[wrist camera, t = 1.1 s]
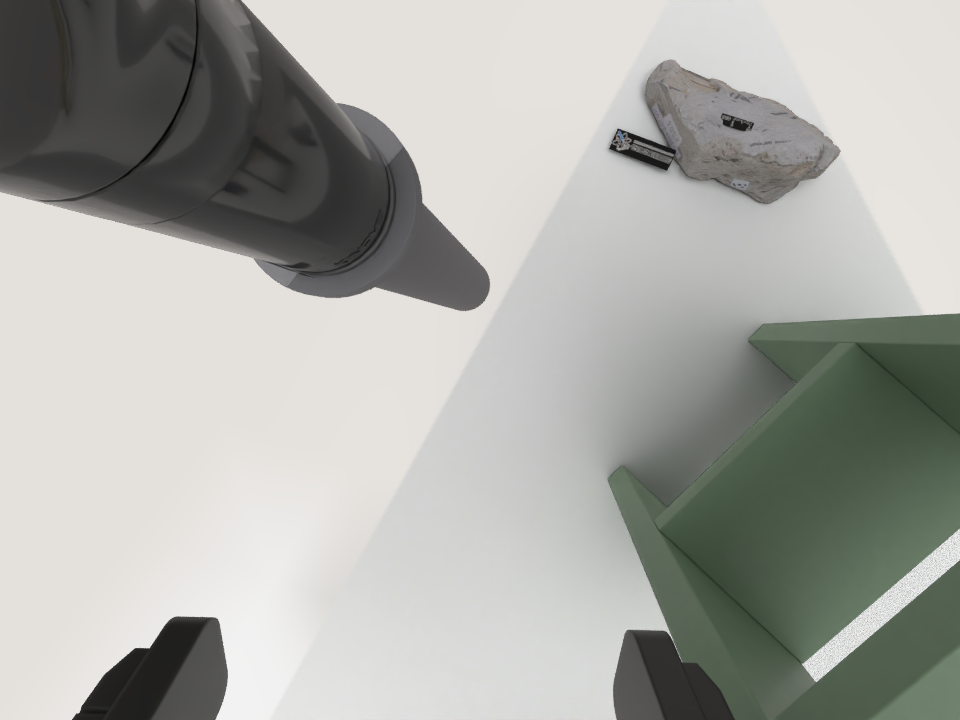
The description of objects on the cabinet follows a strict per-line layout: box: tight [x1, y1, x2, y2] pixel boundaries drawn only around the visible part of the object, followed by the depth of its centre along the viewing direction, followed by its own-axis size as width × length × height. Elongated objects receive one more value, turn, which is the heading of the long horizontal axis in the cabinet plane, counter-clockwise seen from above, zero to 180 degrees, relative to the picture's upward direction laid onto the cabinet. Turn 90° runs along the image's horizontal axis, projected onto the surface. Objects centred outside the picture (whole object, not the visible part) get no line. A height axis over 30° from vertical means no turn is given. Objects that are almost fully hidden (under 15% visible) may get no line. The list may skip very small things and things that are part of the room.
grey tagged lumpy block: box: [609, 60, 840, 204], centre depth 25 cm, size 10×3×5 cm
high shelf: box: [608, 314, 960, 720], centre depth 17 cm, size 12×7×20 cm, turn 138°
